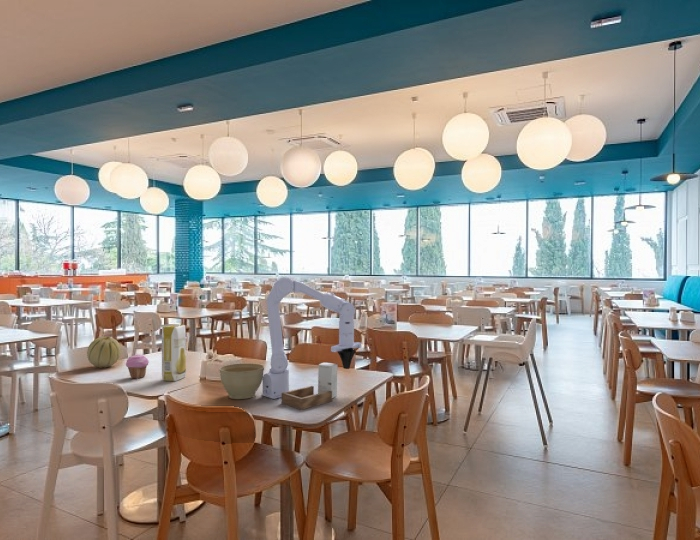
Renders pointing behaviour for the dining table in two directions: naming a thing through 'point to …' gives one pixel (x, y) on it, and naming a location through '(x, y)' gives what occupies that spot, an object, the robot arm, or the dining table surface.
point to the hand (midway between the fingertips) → (346, 368)
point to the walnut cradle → (305, 398)
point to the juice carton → (173, 352)
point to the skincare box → (327, 378)
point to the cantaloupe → (104, 352)
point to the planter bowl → (241, 379)
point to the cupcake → (137, 365)
